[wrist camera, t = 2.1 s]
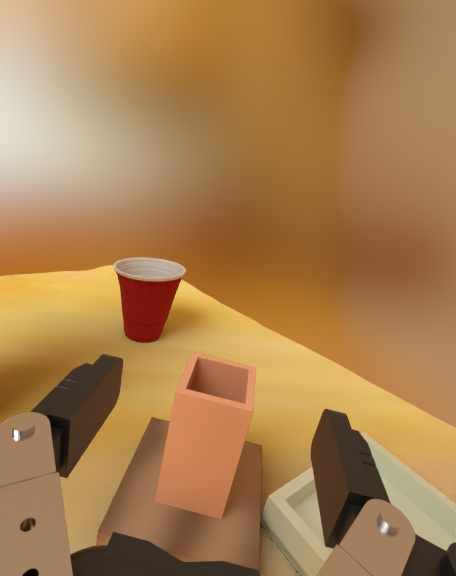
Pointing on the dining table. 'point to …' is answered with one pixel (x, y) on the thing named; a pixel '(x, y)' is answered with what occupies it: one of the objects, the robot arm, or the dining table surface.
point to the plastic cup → (147, 294)
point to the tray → (307, 522)
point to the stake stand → (182, 523)
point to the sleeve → (206, 434)
